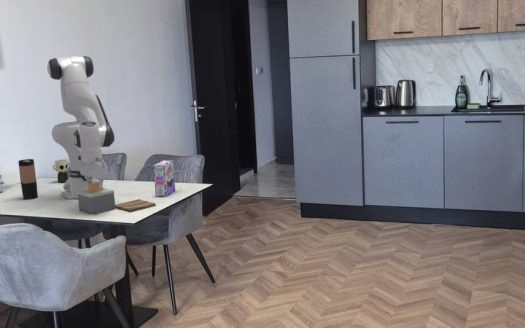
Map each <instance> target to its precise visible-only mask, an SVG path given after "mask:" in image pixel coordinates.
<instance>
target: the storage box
mask: <svg viewBox="0 0 525 328" xmlns="http://www.w3.org/2000/svg"><path fill="white" fill-rule="evenodd" d="M77 200H78V201H77V202H78V210H79V211H80V212H82V213H86V214H87V215H88V214H89V215H92V216H93V215H96V214H100V213H104V212H109V211H113V210H116V208H115V205H116V202H115V200H116V199H115V192H114V193H109V194H105V195H100V196H96V197H91V198H90V197H86V196H83V195H79V194H78V198H77Z"/></svg>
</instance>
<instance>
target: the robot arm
mask: <svg viewBox="0 0 525 328" xmlns="http://www.w3.org/2000/svg"><path fill="white" fill-rule="evenodd" d="M46 68H47V73H48V75H49V77H50V78H51V79H53V80H57V81H58V80H59V81H60V95H61V102H62V104H61V105H62V109H63V111H64V112H65V113H67V114H68V115H71V116H73V117H74V118H75V121H74V120H73V121H65V122H60V123H58V124H55V125H54V126H53V127H52V129H51V137H52V139H53V141H54V142H55V143H56V144H57V145H59V146H61V148H63V149H64V151H66V153H67V156H68V162H70V167H69V169H70V170H69V169H68V171H69V172H68V178H69V179H68V180H66V182H64V184H63V185H62V186H63V187H62V188H63V190H64V191H61V192H60V194H59V195H60V196H62V197H64V198H66V199H67V200H73V199H78V193H77V192H80V191H84V190H88V186H87V184H88V183H93V182H98V181H99V182H98V188H102V187H103V188H104V186H103V185H104V184H103V183H104V180H105V179H108V177H109V172H108V167H107V163H106V162H105V161H104V159H103V152H102V148H110V146H111V145H113V143H115V133H114V130H113V128H112V127H111V123H110V121H109V119H108V117H107V114H106V111H105V109H104V106H103V103H102V102H101V99H100V97H99V96H98V95H97V94H95V93H94V92H93V90H91V87H90V84H89V79H88V78H90V77H92V75H93V74H94V71H95V64H94V61H93V59H92V58H91V57H90V56H87V55H83V56H80V55H79V56H78V55H77V56H76V55H73V56H72V55H71V56H65V57H53V58H51V59H49V61H48V63H47V66H46ZM88 109H90V110H92V111H93V112H94V114H95V117H96V119H95V118H94V117H93V116H92V115H91V113H90V112H89V110H88Z"/></svg>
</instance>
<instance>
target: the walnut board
mask: <svg viewBox="0 0 525 328" xmlns="http://www.w3.org/2000/svg"><path fill="white" fill-rule="evenodd" d="M156 206H157V205H156V203H155V202H151V201H147V200H145V199H144V200H143V199H139V198H138V199H135V200H130V201H126V202H122V203H117V204H115V209H117V210H121V211H125V212H128V213H132V212H136V211H140V210H144V209H145V210H146V209H148V208H152V207H156Z"/></svg>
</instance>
